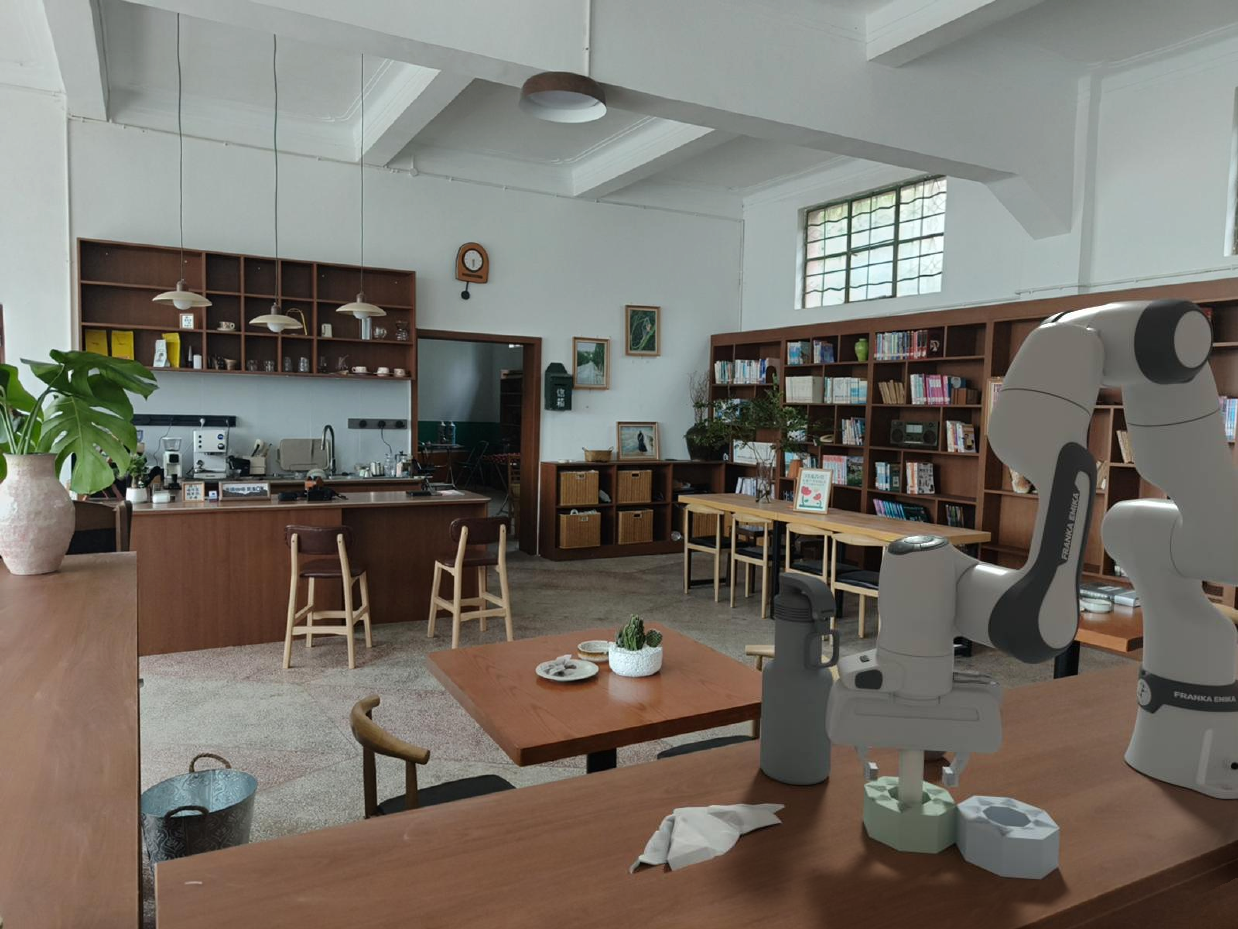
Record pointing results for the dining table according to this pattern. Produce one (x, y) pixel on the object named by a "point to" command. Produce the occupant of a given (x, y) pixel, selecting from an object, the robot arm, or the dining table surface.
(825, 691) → the water bottle
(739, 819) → the cloth
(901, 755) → the dowel
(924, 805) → the bead
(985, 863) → the bead
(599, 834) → the dining table surface
